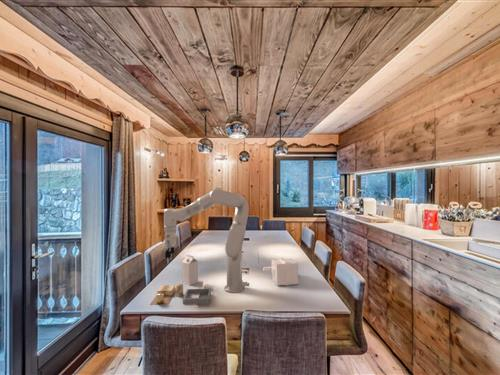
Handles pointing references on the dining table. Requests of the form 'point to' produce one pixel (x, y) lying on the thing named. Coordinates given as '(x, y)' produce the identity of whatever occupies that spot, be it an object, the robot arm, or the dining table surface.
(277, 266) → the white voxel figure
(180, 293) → the dowel
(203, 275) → the dining table surface
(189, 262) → the milk carton
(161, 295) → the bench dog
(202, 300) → the tray
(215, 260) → the dining table surface
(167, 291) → the thick square wood block
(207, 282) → the dining table surface
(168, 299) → the board
